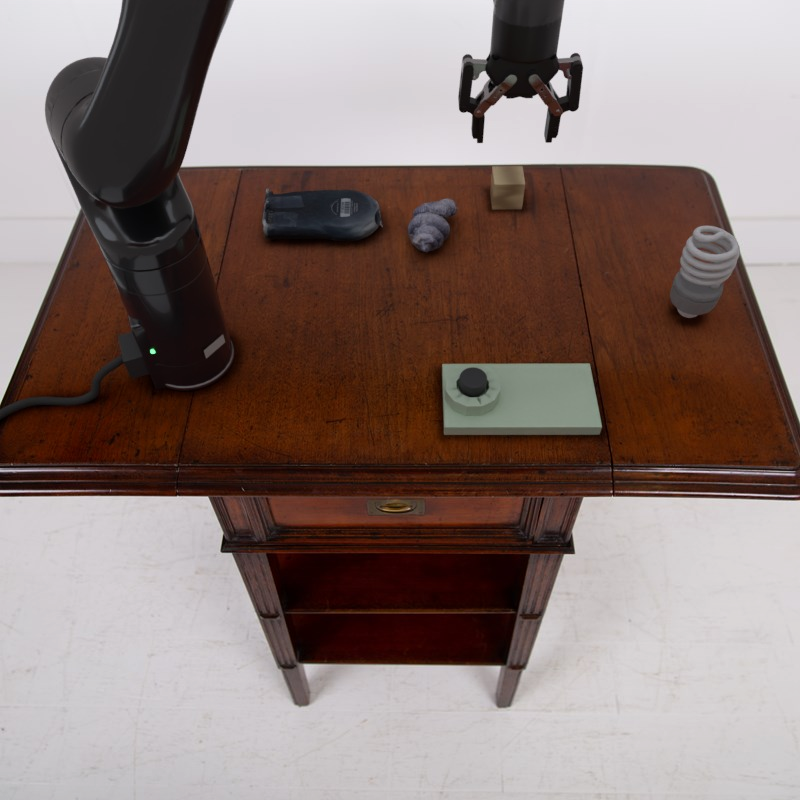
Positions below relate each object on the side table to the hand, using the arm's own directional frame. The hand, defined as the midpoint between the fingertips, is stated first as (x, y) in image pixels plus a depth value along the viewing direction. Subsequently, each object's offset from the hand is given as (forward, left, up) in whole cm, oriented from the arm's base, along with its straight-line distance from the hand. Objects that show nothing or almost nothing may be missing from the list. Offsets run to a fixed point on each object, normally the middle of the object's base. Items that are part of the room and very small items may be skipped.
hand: (513, 139), depth 95 cm
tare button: (-19, -30, -7) cm, 36 cm away
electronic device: (-24, +4, -9) cm, 27 cm away
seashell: (-12, -3, -9) cm, 16 cm away
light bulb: (+10, -28, -9) cm, 31 cm away
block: (0, 0, -9) cm, 9 cm away
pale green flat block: (-14, -32, -9) cm, 36 cm away
